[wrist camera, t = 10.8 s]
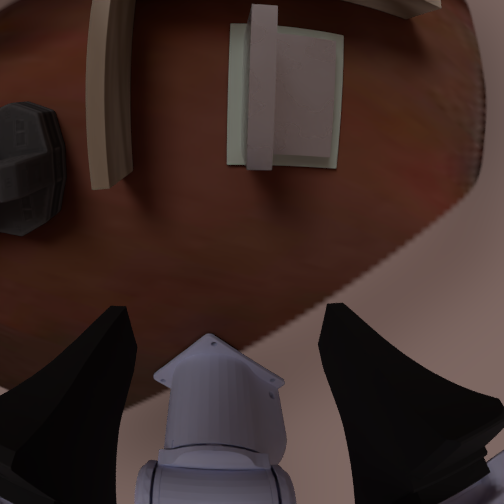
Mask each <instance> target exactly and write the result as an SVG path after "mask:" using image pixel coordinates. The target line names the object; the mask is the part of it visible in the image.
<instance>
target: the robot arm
mask: <svg viewBox="0 0 504 504" xmlns="http://www.w3.org/2000/svg"><path fill="white" fill-rule="evenodd" d="M212 342H216V343H212ZM318 347H319V351H320V356H321V361H322V365H323V369H324V372H325V374H326V377H327V380H328V383H329V385H330V388H331V391H332V394H333V396H334V399H335V402H336V405H337V408H338V410H339V413H340V416H341V420H342V423H343V427H344V431H345V436H346V441H347V446H348V451H349V457H350V463H351V470H352V477H353V485H354V496H355V504H504V450H503V451H501V452H500V453H498V454H497V455H495V456H494V457H493V458H491V459H490V460H488V461H487V462H486V461H485V459H484V456H486V455H487V450H486V448H485V445H486V444H488V442H490V441H491V440H492V439H493V438H494V437H495V436H496V435H497V434H498V433H499V432H500V431H501V430H502V429H503V428H504V406H503V405H502V403H501V401H500V400H499V399H498V398H494V397H491V396H488V395H484V394H481V393H477V392H475V391H472V390H469V389H467V388H464V387H462V386H459V385H457V384H455V383H452V382H451V381H448V380H446V379H444V378H442V377H441V376H439V375H437V374H435V373H433V372H431V371H429V370H428V369H426V368H424V367H423V366H421V365H420V364H418V363H416V362H415V361H413V360H412V359H411V358H409V357H407V356H406V355H405V354H403V353H402V352H401V351H399V350H398V349H397V348H395V347H394V346H393V345H391V344H390V343H389V342H388V341H386V340H385V339H384V338H383V337H381V336H380V335H379V334H378V333H377V332H376V331H375V330H373V329H372V328H371V327H370V326H369V325H368V324H367V323H365V322H364V321H363V320H362V319H361V318H360V317H359V316H358V315H356V314H355V313H354V312H353V311H352V310H351V309H349V308H348V307H347V306H346V305H345V304H344V303H331V304H327V307H326V312H325V316H324V321H323V325H322V330H321V334H320V338H319V342H318ZM136 353H137V344H136V341H135V337H134V334H133V331H132V327H131V323H130V320H129V316H128V312H127V308H126V306H110V307H109V308H108V309H107V310H106V311H105V312H104V313H103V314H102V315H101V316H100V317H99V318H98V319H96V320H95V321H94V322H93V323H92V324H91V325H90V326H89V327H88V328H87V329H86V330H85V331H84V332H83V333H82V334H81V335H80V336H79V337H78V338H77V339H76V340H75V341H74V342H73V343H72V344H71V345H69V346H68V347H67V348H66V349H65V350H64V351H63V352H62V353H61V354H60V355H58V356H57V357H56V358H55V359H54V360H53V361H51V362H50V363H49V364H48V365H46V366H45V367H44V368H43V369H41V370H40V371H39V372H37V373H36V374H34V375H33V376H32V377H30V378H29V379H27V380H25V381H24V382H22V383H21V384H19V385H18V386H16V387H15V388H13V389H11V390H9V391H8V392H6V393H4V394H2V395H0V504H116V455H117V443H118V434H119V427H120V421H121V417H122V413H123V409H124V405H125V402H126V398H127V394H128V390H129V387H130V383H131V379H132V376H133V372H134V366H135V360H136ZM154 379H155V380H156V381H158V382H160V383H162V384H163V385H165V386H167V387H169V388H171V392H170V400H169V409H168V416H167V425H166V435H165V445H164V449H159V456H158V461H156V460H149V461H148V462H147V463H146V464H145V465H144V466H142V468H141V469H140V471H139V473H138V477H137V481H136V488H135V504H296V497H295V491H294V487H293V484H292V481H291V479H290V476H289V475H288V473H287V472H285V471H284V470H283V469H282V468H281V467H280V466H279V465H278V463H279V462H280V461H281V459H282V457H283V455H284V452H285V449H286V442H287V439H286V431H285V426H284V421H283V415H282V409H281V404H280V398H279V392H278V388H280V387H281V386H283V385H284V384H285V382H284V379H283V378H281V377H279V376H277V375H276V374H274V373H272V372H271V371H269V370H268V369H266V368H264V367H263V366H261V365H259V364H258V363H256V362H254V361H253V360H251V359H250V358H248V357H247V356H245V355H244V354H242V353H241V352H239V351H237V350H236V349H234V348H233V347H231V346H230V345H228V344H227V343H225V342H224V341H222V340H221V339H219V338H218V337H216V336H215V335H213V334H206V335H204V336H203V337H202V338H200V339H199V340H198V341H196V342H195V343H194V344H192V345H191V346H190V347H189V348H187V349H186V350H185V351H183V352H182V353H181V354H179V355H178V356H177V357H175V358H174V359H173V360H171V361H170V362H169V363H167V364H166V365H165V366H163V367H162V368H161V369H159V370H158V371H157V372H155V373H154Z"/></svg>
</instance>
